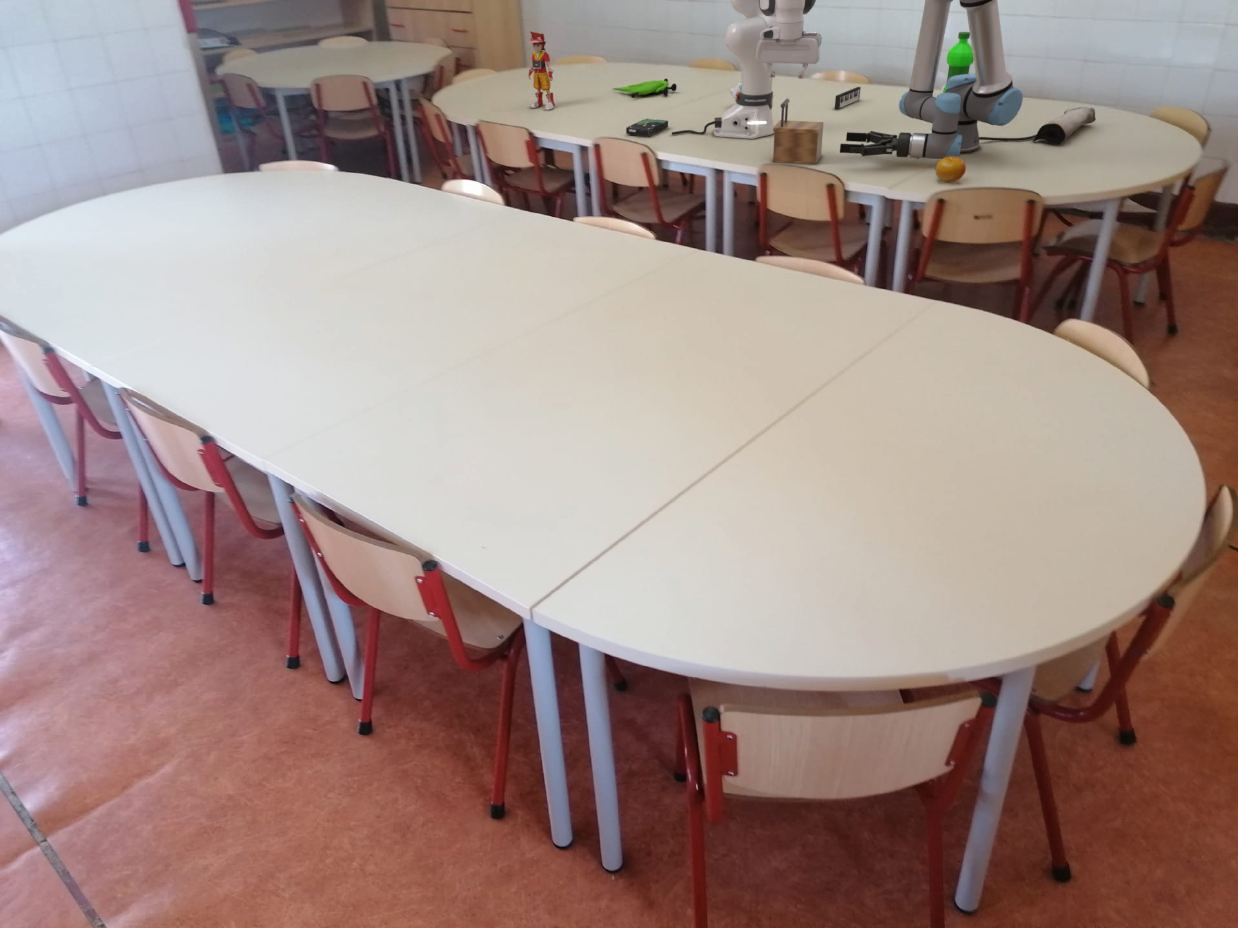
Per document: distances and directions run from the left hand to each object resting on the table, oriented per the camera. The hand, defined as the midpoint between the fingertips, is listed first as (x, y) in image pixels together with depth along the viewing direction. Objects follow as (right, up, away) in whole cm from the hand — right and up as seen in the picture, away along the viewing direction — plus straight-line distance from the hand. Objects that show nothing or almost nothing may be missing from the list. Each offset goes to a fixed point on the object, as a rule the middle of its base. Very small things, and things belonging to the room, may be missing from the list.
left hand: (786, 78), depth 291 cm
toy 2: (-45, +39, +106) cm, 122 cm away
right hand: (+19, -20, +4) cm, 28 cm away
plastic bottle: (+78, +18, +64) cm, 103 cm away
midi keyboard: (+37, +19, +69) cm, 81 cm away
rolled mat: (+101, -11, +21) cm, 103 cm away
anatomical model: (-4, +20, +74) cm, 77 cm away
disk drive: (-44, +2, +51) cm, 67 cm away
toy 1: (-87, +27, +92) cm, 129 cm away
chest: (+6, -22, +13) cm, 26 cm away
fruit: (+48, -38, -14) cm, 62 cm away
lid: (+5, -14, +7) cm, 16 cm away
